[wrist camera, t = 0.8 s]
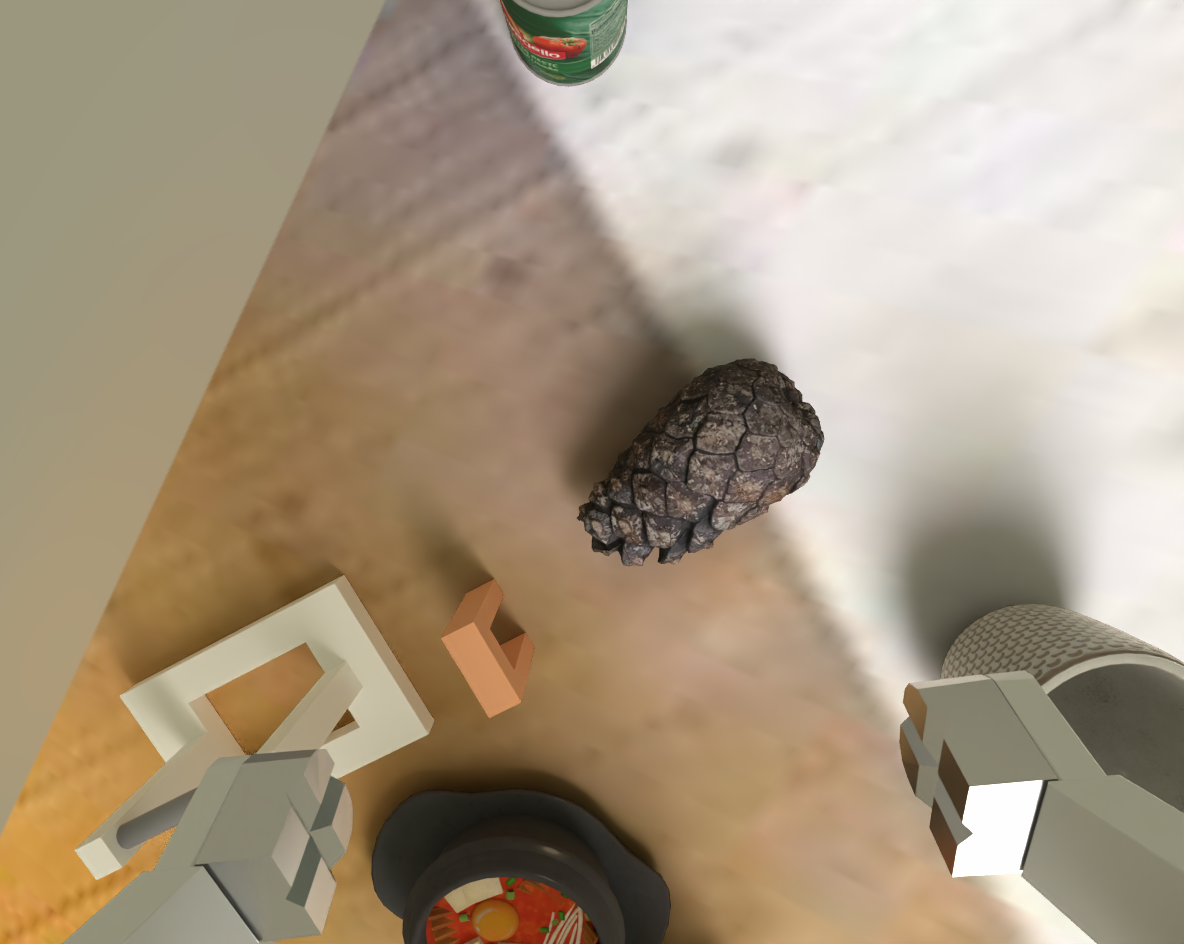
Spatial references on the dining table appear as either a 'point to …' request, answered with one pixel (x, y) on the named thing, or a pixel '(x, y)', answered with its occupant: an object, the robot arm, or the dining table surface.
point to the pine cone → (705, 464)
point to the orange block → (488, 651)
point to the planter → (1091, 687)
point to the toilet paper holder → (351, 681)
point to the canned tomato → (566, 37)
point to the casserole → (513, 873)
